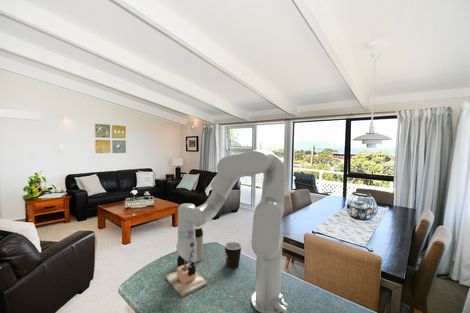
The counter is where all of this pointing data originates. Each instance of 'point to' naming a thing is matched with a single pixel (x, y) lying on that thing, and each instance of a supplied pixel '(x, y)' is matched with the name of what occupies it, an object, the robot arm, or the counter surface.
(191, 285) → the post stand
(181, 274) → the ring
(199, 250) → the travel mug
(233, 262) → the coffee mug
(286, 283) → the counter surface
